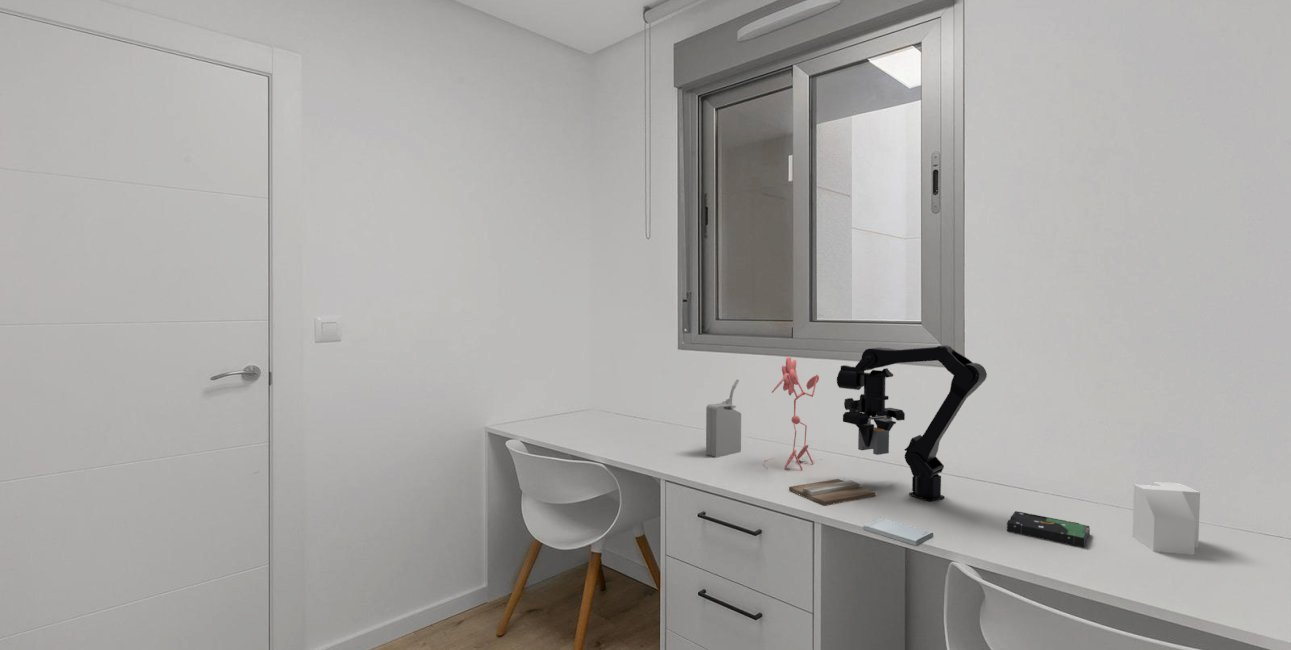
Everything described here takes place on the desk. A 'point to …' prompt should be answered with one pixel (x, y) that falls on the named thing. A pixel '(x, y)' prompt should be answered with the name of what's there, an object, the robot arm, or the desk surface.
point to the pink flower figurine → (789, 381)
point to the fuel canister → (723, 428)
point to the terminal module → (876, 441)
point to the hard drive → (898, 531)
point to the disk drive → (1049, 529)
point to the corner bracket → (1166, 517)
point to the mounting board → (832, 491)
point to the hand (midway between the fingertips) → (873, 445)
